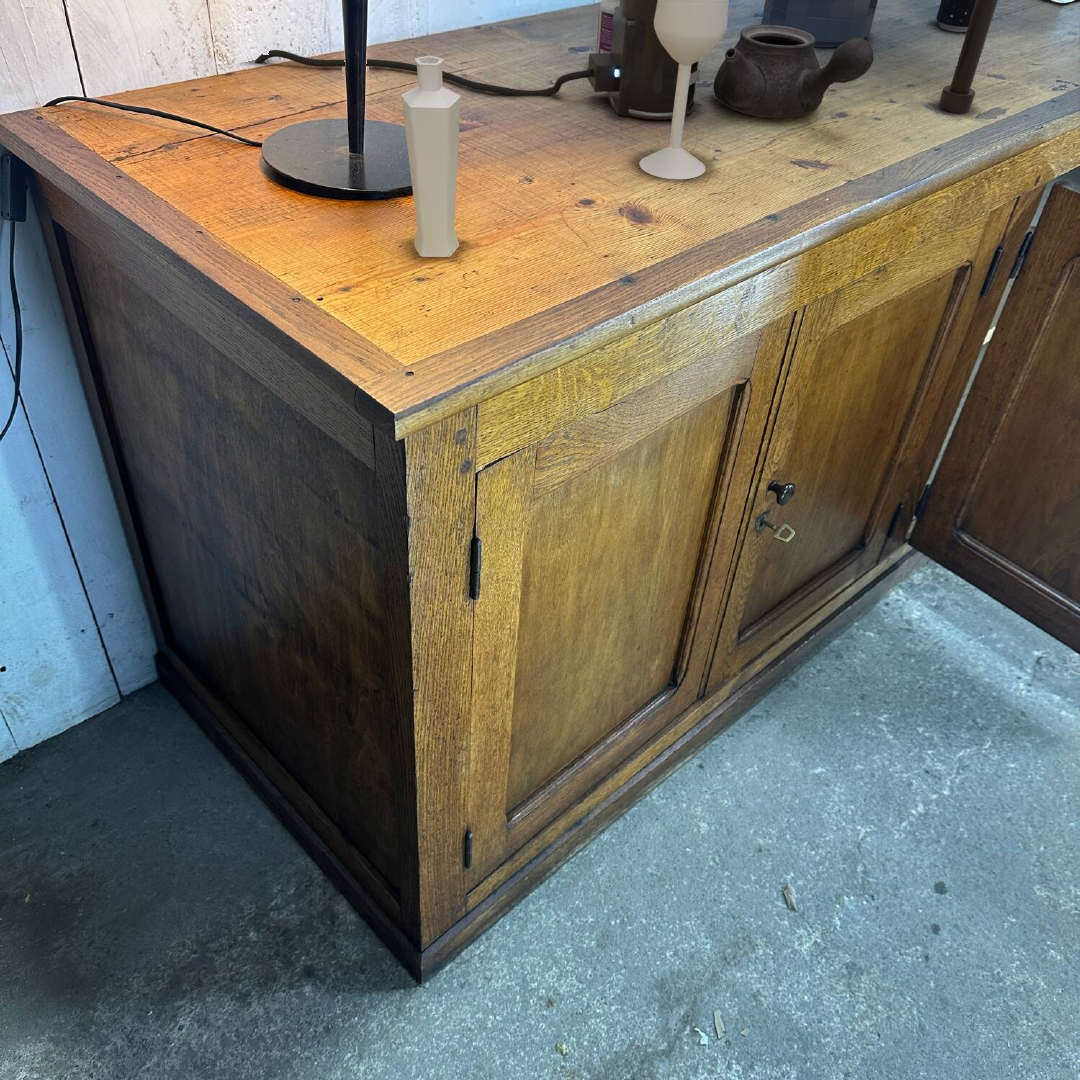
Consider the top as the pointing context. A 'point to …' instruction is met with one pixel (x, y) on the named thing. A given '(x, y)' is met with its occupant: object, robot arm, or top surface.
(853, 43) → the teapot
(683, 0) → the champagne flute
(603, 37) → the pill bottle
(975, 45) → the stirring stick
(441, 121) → the beige faceted vase
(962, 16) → the beverage can
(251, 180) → the top surface
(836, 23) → the bowl
